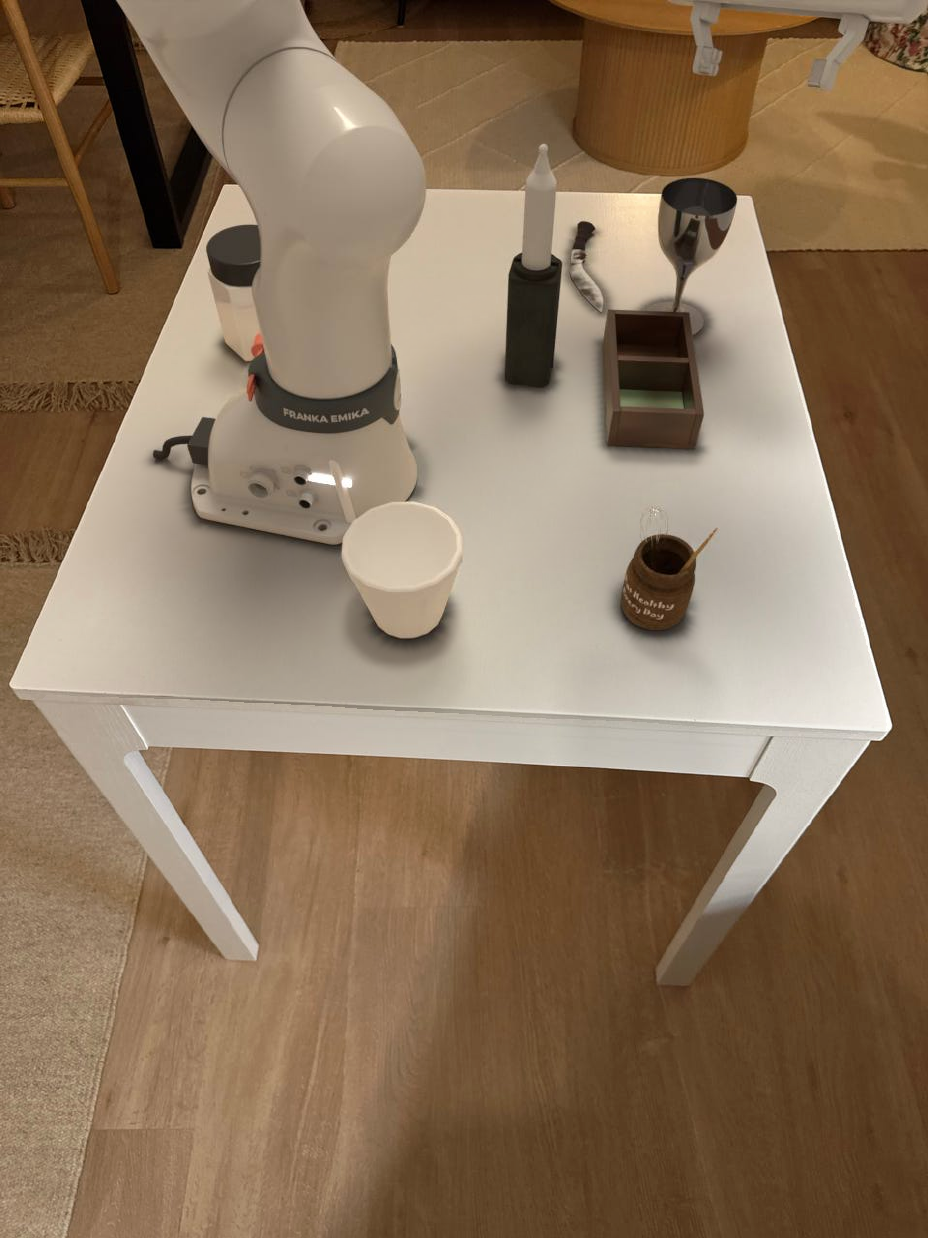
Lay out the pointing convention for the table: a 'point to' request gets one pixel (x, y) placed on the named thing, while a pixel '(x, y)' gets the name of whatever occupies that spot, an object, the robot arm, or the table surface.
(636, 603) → the utensil holder
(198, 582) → the table surface
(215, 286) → the jar
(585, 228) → the knife
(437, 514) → the cup
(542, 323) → the candle
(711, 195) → the wine glass
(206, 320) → the table surface
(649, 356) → the wooden divided box
